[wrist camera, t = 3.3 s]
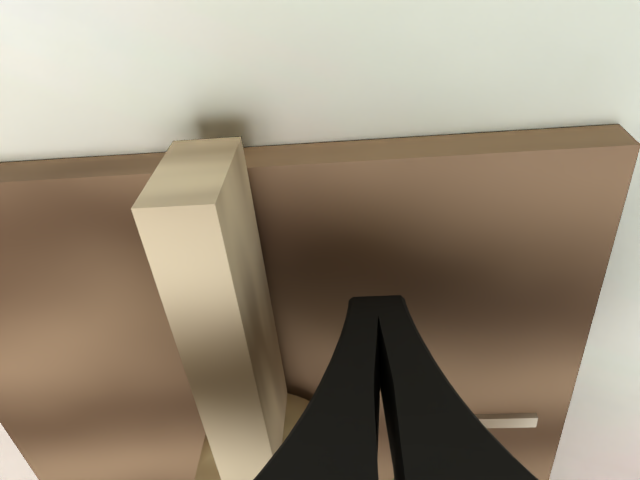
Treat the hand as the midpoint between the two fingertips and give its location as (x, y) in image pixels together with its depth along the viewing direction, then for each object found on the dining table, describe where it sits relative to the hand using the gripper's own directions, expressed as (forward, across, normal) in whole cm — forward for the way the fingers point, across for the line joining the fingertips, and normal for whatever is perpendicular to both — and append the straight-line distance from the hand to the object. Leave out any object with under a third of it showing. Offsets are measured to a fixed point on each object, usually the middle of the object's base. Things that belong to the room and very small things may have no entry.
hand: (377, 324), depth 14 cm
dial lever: (+1, +4, +5) cm, 6 cm away
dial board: (+3, +4, +6) cm, 8 cm away
